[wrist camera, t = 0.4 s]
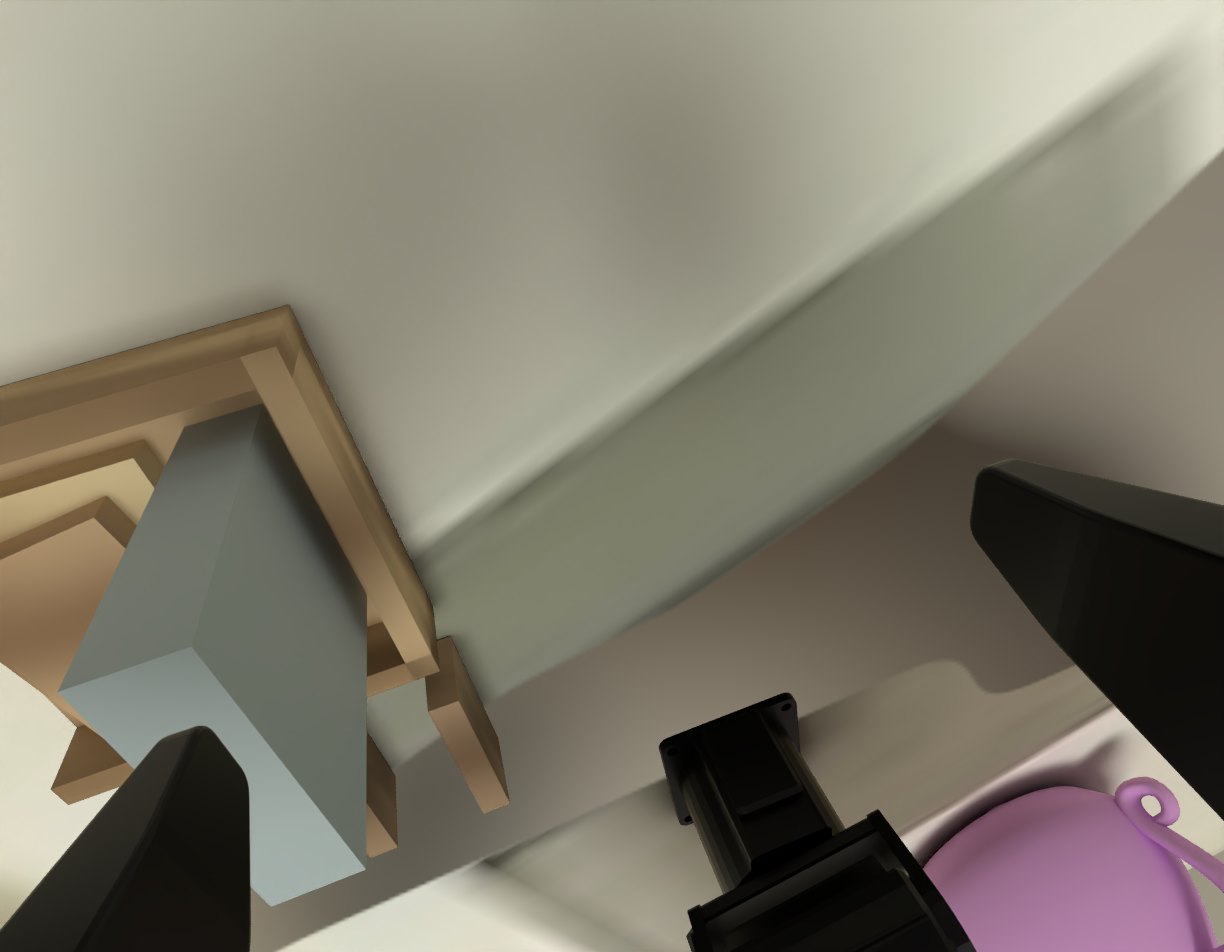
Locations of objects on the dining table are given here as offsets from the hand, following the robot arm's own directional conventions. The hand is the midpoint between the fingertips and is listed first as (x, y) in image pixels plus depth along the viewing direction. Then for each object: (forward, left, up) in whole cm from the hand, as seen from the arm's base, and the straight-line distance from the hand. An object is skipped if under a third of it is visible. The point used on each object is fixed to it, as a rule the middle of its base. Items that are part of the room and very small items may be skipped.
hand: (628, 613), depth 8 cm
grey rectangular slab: (-5, +7, -13) cm, 15 cm away
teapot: (-48, -24, -14) cm, 55 cm away
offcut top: (-5, +12, -12) cm, 18 cm away
